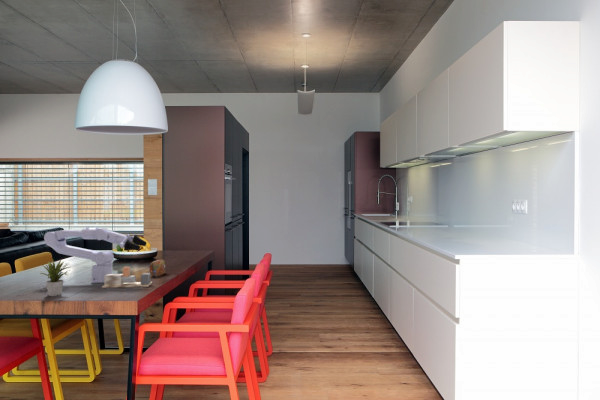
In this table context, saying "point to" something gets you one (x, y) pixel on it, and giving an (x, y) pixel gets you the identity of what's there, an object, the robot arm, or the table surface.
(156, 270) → the tin
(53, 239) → the robot arm
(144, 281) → the socket
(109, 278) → the tube stand
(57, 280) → the house plant
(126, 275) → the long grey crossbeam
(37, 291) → the table surface
